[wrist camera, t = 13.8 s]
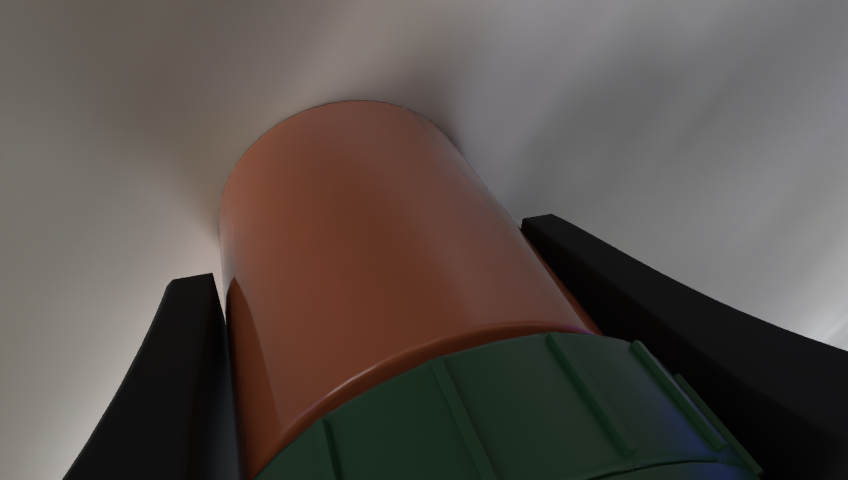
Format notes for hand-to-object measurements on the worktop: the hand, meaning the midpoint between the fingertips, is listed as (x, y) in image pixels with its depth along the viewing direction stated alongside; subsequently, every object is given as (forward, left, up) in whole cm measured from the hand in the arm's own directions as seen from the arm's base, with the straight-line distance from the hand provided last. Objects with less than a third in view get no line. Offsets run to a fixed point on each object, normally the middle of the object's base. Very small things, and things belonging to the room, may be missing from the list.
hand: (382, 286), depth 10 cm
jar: (0, 0, -2) cm, 2 cm away
